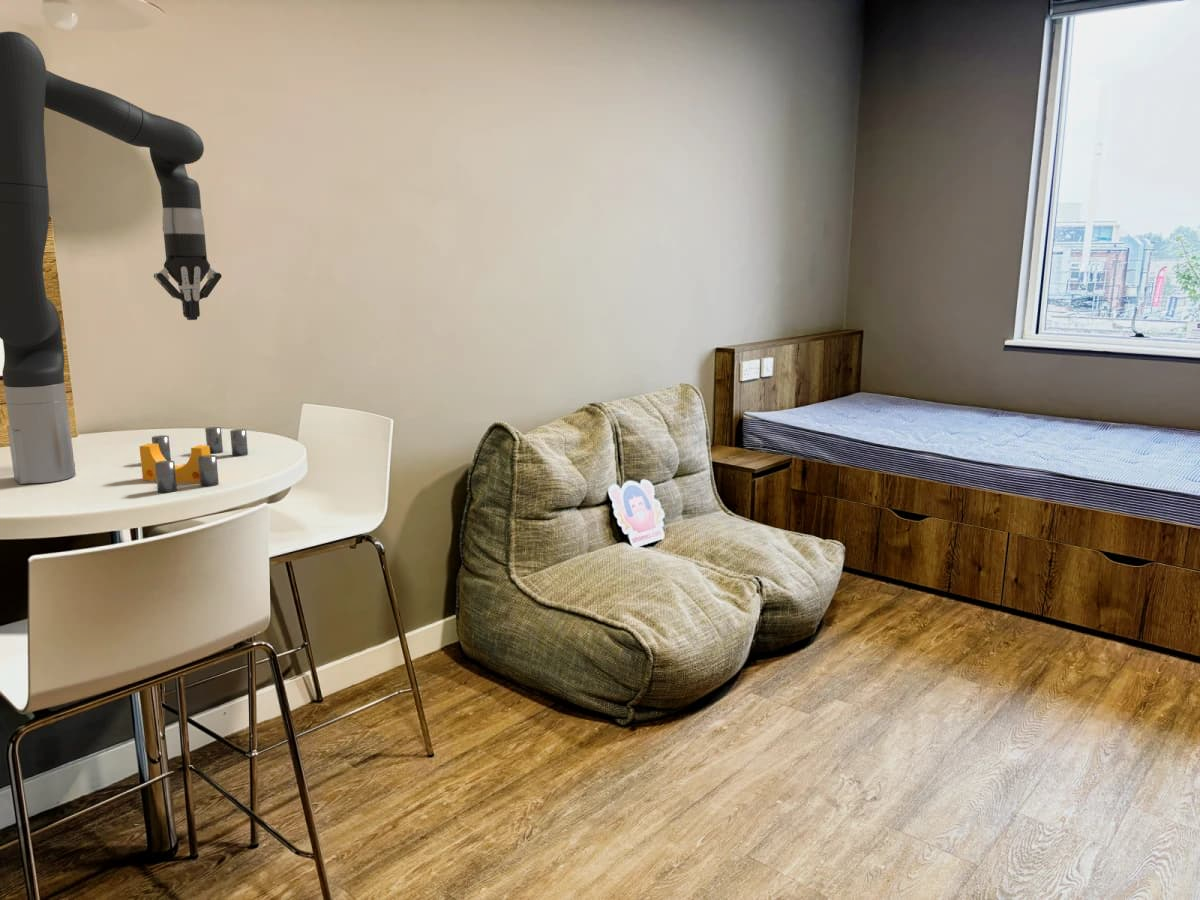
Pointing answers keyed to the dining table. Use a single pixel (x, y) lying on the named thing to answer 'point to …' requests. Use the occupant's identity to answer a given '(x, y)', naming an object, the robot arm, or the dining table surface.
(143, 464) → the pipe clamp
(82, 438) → the dining table surface
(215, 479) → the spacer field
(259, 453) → the dining table surface
